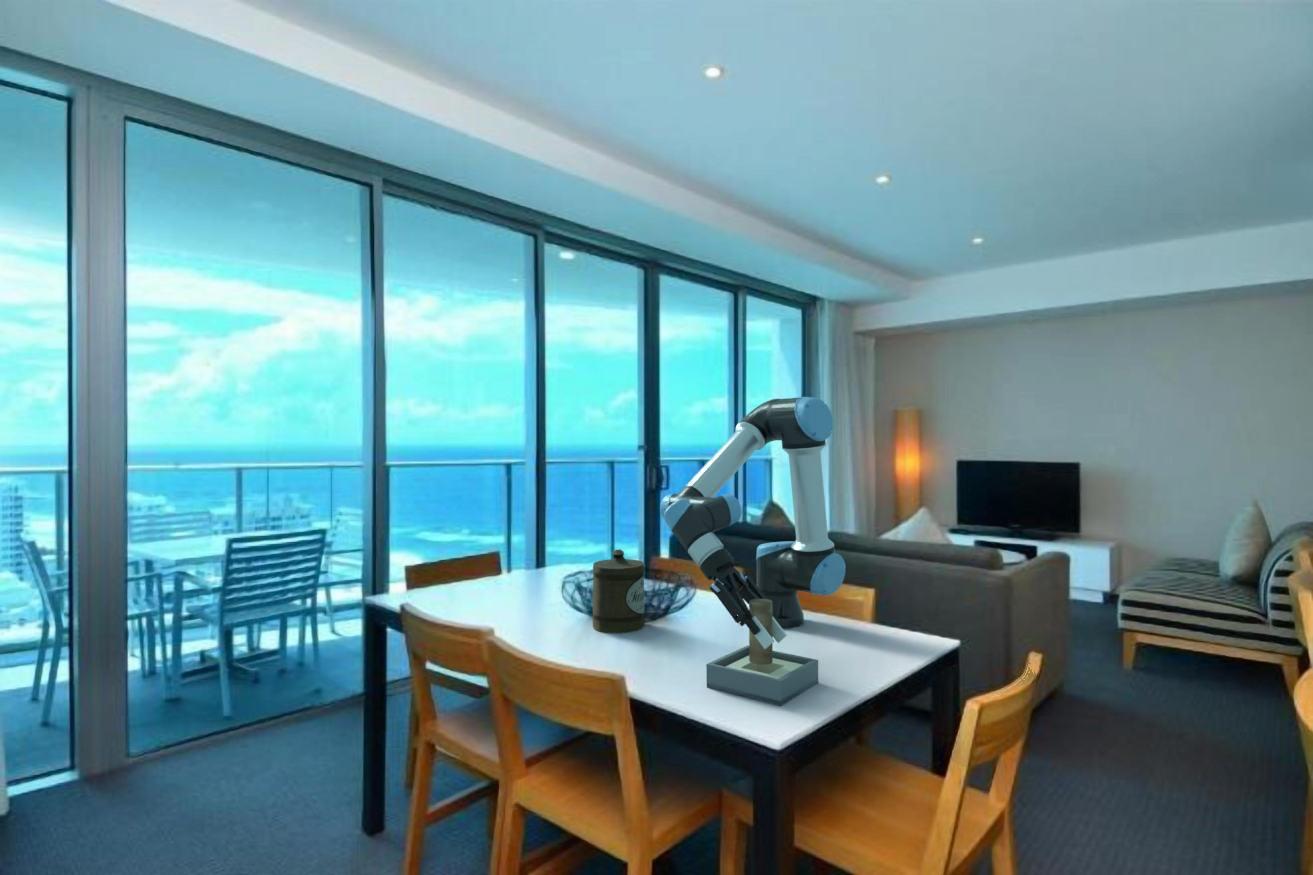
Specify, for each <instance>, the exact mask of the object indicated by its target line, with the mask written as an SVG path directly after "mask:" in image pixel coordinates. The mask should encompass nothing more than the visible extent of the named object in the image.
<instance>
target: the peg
mask: <svg viewBox="0 0 1313 875" xmlns="http://www.w3.org/2000/svg"><path fill="white" fill-rule="evenodd" d="M748 609H749V611H750V613H751V615H752V617H751V618H753V617H754V616H756V617H757V619H758V620H759V621H760V623H761V624H762V625H763V627H764V628H765V629H766V631H767V632H768V633H769V635H770V636H771V637H772V638H773V636H772V601H771V600H768V599H751V600H749V604H748ZM748 629H749V628H748ZM748 633H749V634H748V637H749V638H748V643H749V644H748V646H749V661H750V662H751V663H754V664H759V665H766V664H770V663H772V662H773V651H774V650H773V643H772V644H771V645H770V646H769V647H768V648H766V649H764V648H763V646H762V645H761V644H760V642H759V641H758V640H757V638H756V637H755V636H754V634H753V633H752V632H751V631H750V629H749V630H748Z"/></svg>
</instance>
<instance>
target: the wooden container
mask: <svg viewBox="0 0 1313 875" xmlns="http://www.w3.org/2000/svg"><path fill="white" fill-rule="evenodd" d="M611 554H612V556H613V557H612V558H610V559H601V560H598V561H595V562H593V565H592V627H593V629H594V630H596V631H597V632H601V633H605V634H606V633H608V634H623V633H624V634H625V633H633V632H637V631H639V630H641V629H643V628H644V627H645V575H644V574H645V571H644V570H645V565H644V562H643V561H641V560H637V559H631V558H625V556H624V555H625V551H623V550H622V549H615V550H613V551H612V553H611Z"/></svg>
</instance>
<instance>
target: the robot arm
mask: <svg viewBox="0 0 1313 875" xmlns="http://www.w3.org/2000/svg"><path fill="white" fill-rule="evenodd" d="M824 401H825V400H822V399H821V398H819V397H811V396H801V397H800V396H799V397H790V398H789V397H788V398H773V399H769V400H766V401H765V402H762V403H761V404H760V405H758V406H756V407H755V408H754V409H752V410H751V411H750V412H749V413H747V414H746V415H745V416H744V417H743V418H742V419H741V420H740V421H739V422H738V423H737V424H736V426H735V428H734V429H735V432H733V434H731V436H730V437H729V438H728V439H727V440H726V441H725V443H723V445H722V446H721V447H720V448H719V449H718V450H717V451H716V452H715V454H713V455H712V456H711V458H709V460H708V461H707V462H706V463H705V464H704V465H703V466H702V467H701V469H699V470H698V471H697V473H695V475H694V476H693V477H692V478H691V479H690V480H689V481H688V483H686V485H684V487H683V488H681V489H680V491H679V492H678V493H672V494H670V493H669V494H667V495H666V496H664V497H663V499H662V500H661V502H660V507H659V510H660V511H659V512H660V515H661V516H662V518H663V521H664V522H665V523H666V525H667V526H668V528H669V530H670V532H671V533H672V534H673V535H674V536H675V537H676V539H677V540H678V542H679V543H680V544H681V545H682V547H683V548H684V549H685V551H686V552H687V553H688V555H689V556H690V557H691V559H692V560H693V561H694V562H695V564H696V565H697V566H698V567H699V570H700V571H701V572H702V574H703V575H704V577H706V579H707V580H708V581H713V583H712V584H711V585H710V586H709V590H710V591H711V592H712V593H713V594H714V595H715V596H716V597H717V598H718V600H719V601H720V602H721V604H722V605H723V606H724V608H725V609H726V611H727V612H728V613H729V615H730V616H731V618H732V619H733V620H734V622H735V623H737V624H739V626H741V627H743V626H744V625H746V627H747V628H748V629H750V631H751V632H752V633H753V634H754V636H755V637H756V638H757V640H758V641H759V642H760V644H761V645H762V646H763V648H764V649H766V648H768V647H769V646H770V645H771V644H772V645H773V643H774V642H775V641H776V642H777V644H779V643H780V642H782V641H783V640H784V639H785V638H786V637H787V636H788V634H787V633H786V631H785V630H784V629H789V628H791V629H792V628H796V627H800V626H802V625H803V624H804V623H805V622H804V621H805V620H804V619H805V616H804V613H803V609H802V607H801V606H802V605H801V603H800V598H799V597H798V591H799V592H802V593H803V592H804V593H808V594H813V595H815V596H818V595H819V596H831V595H833V594H835V593H836V592H837V591H838V590H839V589H840V588H841V585H842V583H844V579H845V575H846V562H845V559H844V558H843V556H841V554H839V553H837V552H836V548H835V543H834V542H833V541H832V540H831V539H829V534H828V524H827V523H828V522H827V513H826V512H827V511H826V501H825V500H826V499H825V488H824V475H823V465H822V455H821V452H822V450H823V449H824V448H825V447H826V446H827V445H826V444H827V443H826V440H827V439H829V438H830V436H831V435H832V431H833V429H834V418H833V414H832V411H831V409H830V408H829V406H828V405H827V404H826V403H825V402H824ZM775 441H781V449H782V450H783V451H784V452H785V453H786V454H787V455H788V462H789V463H788V464H789V473H790V484H791V498H792V508H793V518H794V520H793V521H794V531H795V540H793V541H791V540H790V541H787V540H786V541H775V542H774V541H773V542H766V543H762V544H759V545H758V546H757V548H756V558H755V566H756V567H755V568H756V574H755V575H756V583H755V582H754V581H753V579H752V577H751V575H750V573H749V572H747V571H745V572H744V573H741V572H740V571H739V570H738V569H736V568H735V567H734V563H735V558H734V557H733V556H732V554H731V553H730V552H729V551H728V549H726V548H725V547H724V544H723V542H721V540H720V539H719V538H718V536H716V534H715V533H714V532H718V531H719V530H723V529H724V528H727V527H731V525H734V524H735V523H737V522H739V520H741V517H742V507H741V506H742V505H741V504H740V501H739V500H738V499H737V497H735V496H734V495H733V494H730V493H726V494H723V495H722V494H720V495H718V496H716V495H717V494H718V493H720V491H721V489H722V488H723V487H724V486H725V485H727V483H729V482H728V481H729V480H731V479H732V477H733V476H734V475H735V474H736V473H737V472H738V471H739V470H740V469H741V467H743V465H744V464H745V463H746V462H747V461H748V459H749V458H750V457H751V456H752V455H753V454H754V453H755V452H756V451H760V450H762V449H763V448H764V447H765V446H766V445H767V444H769V443H771V442H775ZM715 496H716V497H715ZM751 599H768V600H771V601H772V637H771V636H770V635H769V633H768V632H767V631H766V629H765V628H764V627H763V625H762V624H761V623H760V621H759V620H758V619H757V617H756V616H754V617H753V618H751V617H752V615H751V613H750V611H749V606H747V604H748V605H749V600H751Z"/></svg>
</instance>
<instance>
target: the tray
mask: <svg viewBox="0 0 1313 875" xmlns="http://www.w3.org/2000/svg"><path fill="white" fill-rule="evenodd" d="M705 666H706V688H708V689H713V690H717V691H719V692H720V691H721V692H724V693H727V694H733V695H736V696H739V697H744V698H748V699H752V700H755V701H759V702H764V703H767V704H769V705H770V704H771V705H775V706H778V707H782V706H783V705H785V704H786V703H788V702H789V701H791V700H793V699H795V698H796V697H798V696H800V695H801V694H803V693H804V692H806V691H808V690H809V689H810V688H812V687H814V686H815V685H818V683H819V659H815V658H810V657H807V656H801V655H795V654H792V653H786V652H781V651H775V650H773V662H772V663H770V664H766V665H759V664H754V663H751V662H750V661H749V644H748V645H746V646H743V647H741V648H739V649H736V650H735V651H731V653H728V654H725V655H723V656H721V657H719V658H716V659H715V660H713V661H710V662H708V663H706V665H705Z"/></svg>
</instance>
